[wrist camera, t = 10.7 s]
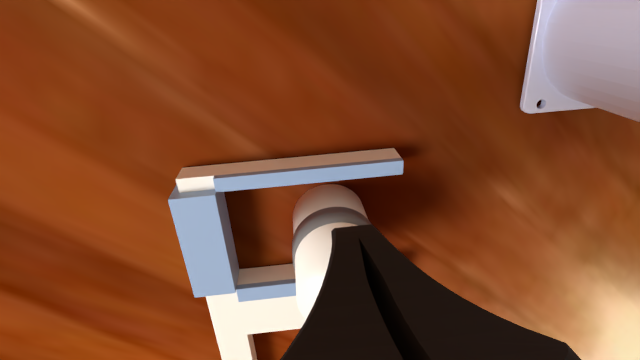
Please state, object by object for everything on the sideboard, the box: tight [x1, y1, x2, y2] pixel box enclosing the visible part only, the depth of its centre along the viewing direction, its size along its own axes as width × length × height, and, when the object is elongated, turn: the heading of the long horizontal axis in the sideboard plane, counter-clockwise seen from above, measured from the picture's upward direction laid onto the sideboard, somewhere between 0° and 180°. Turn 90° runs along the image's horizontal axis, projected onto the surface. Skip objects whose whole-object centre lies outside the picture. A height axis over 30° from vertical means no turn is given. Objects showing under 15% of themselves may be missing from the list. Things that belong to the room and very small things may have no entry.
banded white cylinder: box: [292, 184, 371, 319], centre depth 20 cm, size 5×5×7 cm
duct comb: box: [168, 148, 403, 360], centre depth 25 cm, size 12×19×2 cm, turn 4°
